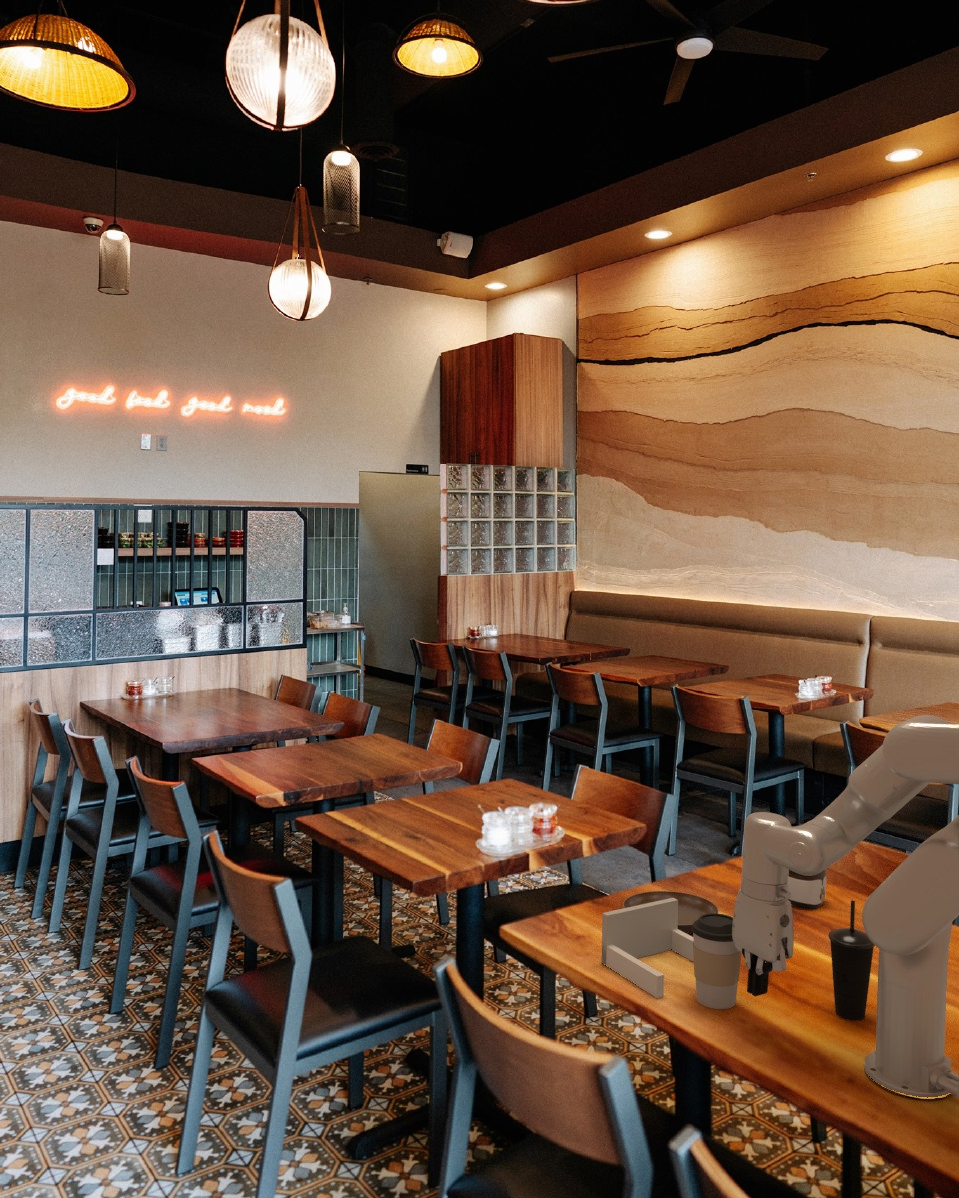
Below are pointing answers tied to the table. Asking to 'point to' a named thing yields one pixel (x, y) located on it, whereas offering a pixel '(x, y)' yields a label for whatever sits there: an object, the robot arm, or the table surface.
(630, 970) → the box
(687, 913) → the plant saucer
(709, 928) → the coffee cup
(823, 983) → the table surface
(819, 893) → the spread jar
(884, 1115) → the table surface
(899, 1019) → the robot arm
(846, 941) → the drinking cup
